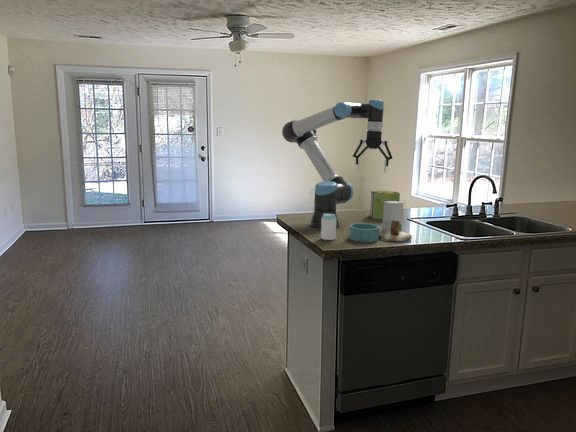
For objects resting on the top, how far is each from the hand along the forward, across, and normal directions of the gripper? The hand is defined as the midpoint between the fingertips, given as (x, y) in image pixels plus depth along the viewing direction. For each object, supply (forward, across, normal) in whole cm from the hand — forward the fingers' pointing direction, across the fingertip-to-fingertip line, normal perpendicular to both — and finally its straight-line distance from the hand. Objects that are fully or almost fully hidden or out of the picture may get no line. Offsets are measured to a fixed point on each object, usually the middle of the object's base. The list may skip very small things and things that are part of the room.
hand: (371, 171), depth 249 cm
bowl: (+30, -2, -26) cm, 40 cm away
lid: (+29, +13, -22) cm, 38 cm away
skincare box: (+30, +12, -7) cm, 33 cm away
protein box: (+30, +10, +31) cm, 45 cm away
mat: (+29, +13, -22) cm, 39 cm away
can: (+30, -18, -32) cm, 48 cm away
